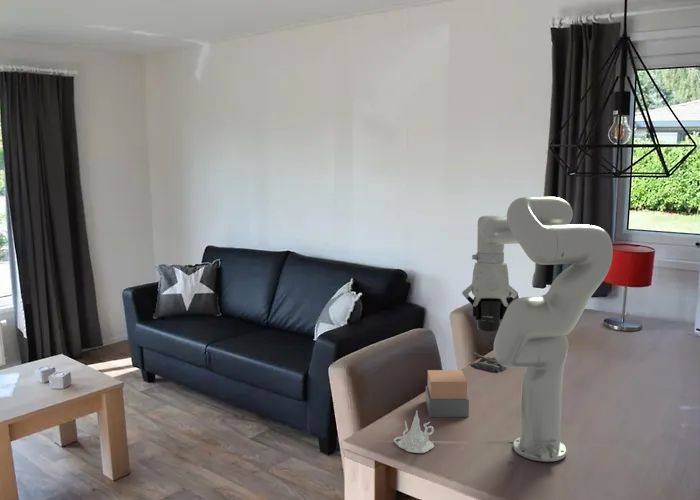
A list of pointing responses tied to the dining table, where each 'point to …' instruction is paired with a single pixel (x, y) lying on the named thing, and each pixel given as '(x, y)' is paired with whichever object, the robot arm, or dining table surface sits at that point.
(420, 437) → the tentacle sculpture
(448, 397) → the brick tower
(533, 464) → the dining table surface
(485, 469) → the dining table surface
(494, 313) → the supplement bottle
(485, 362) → the tank toy
